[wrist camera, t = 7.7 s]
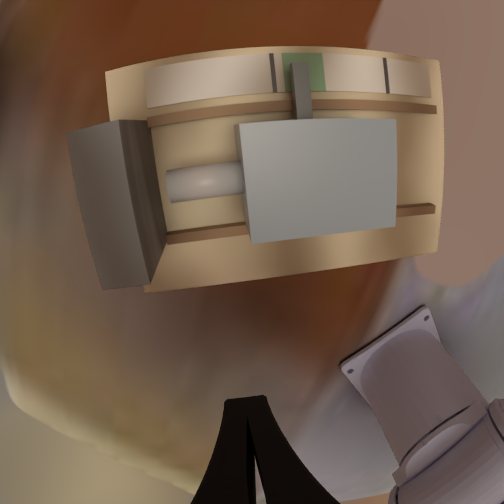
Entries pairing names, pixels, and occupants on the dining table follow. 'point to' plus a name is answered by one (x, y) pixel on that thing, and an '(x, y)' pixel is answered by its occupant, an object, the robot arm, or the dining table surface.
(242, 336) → the dining table surface
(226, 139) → the scale board
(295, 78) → the gauge carriage
